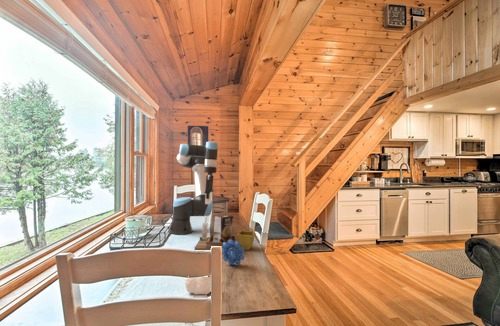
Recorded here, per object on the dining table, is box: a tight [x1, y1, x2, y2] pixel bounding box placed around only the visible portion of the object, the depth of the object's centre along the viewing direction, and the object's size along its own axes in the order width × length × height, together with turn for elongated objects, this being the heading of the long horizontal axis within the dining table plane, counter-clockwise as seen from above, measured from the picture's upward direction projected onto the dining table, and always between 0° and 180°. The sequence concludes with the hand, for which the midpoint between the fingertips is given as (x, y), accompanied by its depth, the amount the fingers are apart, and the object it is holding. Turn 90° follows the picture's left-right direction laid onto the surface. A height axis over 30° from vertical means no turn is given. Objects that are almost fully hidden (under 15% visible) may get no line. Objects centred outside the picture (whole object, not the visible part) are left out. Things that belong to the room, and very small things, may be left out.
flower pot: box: [236, 230, 256, 251], centre depth 141 cm, size 9×9×9 cm
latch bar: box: [201, 222, 208, 240], centre depth 146 cm, size 10×2×2 cm
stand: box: [194, 233, 238, 251], centre depth 141 cm, size 16×22×5 cm
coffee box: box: [213, 214, 234, 243], centre depth 141 cm, size 9×6×16 cm
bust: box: [185, 277, 210, 296], centre depth 91 cm, size 12×8×11 cm
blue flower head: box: [221, 239, 246, 266], centre depth 115 cm, size 12×7×12 cm, turn 95°
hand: (208, 203), depth 153 cm, fingers open, 8 cm apart
